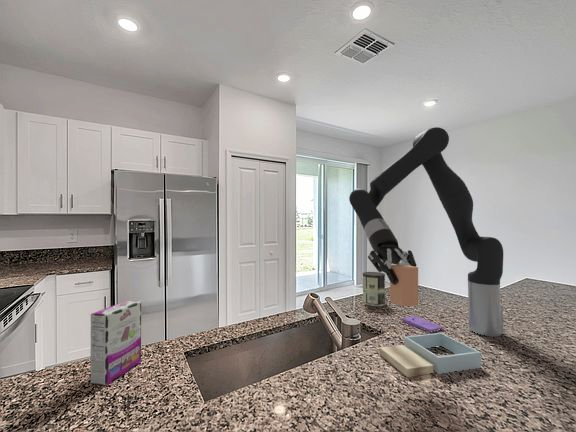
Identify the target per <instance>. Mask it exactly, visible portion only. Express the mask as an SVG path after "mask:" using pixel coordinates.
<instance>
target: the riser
mask: <svg viewBox="0 0 576 432" xmlns="http://www.w3.org/2000/svg"><path fill="white" fill-rule="evenodd" d="M379 355H380V356H381V357H382V358H383V359H385V361H387V362H388V363H389V364H391V366H393V367H394V368H395V369H397V370H398V372H400V373H401V374H402V375H404V376H405V377H406V378H411V377H418V375H419V376H425V374H426V375H431V374H430V373H433V374H434V371H433V365H432V364H431V363H429V362H428V361H426V360H425V359H423V358H422V357H420V356H419V355H417V354H416V353H414V352H413V351H411V350H410V349H408V348H407V347H405V346H404V344H399V345H397V344H396V345H388V346H381V347H379Z"/></svg>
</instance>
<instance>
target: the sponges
mask: <svg viewBox="0 0 576 432" xmlns="http://www.w3.org/2000/svg"><path fill="white" fill-rule="evenodd" d="M402 322H403V323H405V324H408V325H410V326H412V327H415V328H417V327H418V328H417V329H419V328H422V329H425V330H427V331H430V332H431V331H434V330H438V329H442V328H443V329H444V326H443V325H440V324H437V323H433V322H432V321H429V320H427V319H424V318H422V317H420V316H417V315H411V316H407V317H402ZM422 329H421V330H422Z"/></svg>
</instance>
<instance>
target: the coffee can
mask: <svg viewBox="0 0 576 432" xmlns="http://www.w3.org/2000/svg"><path fill="white" fill-rule="evenodd" d="M385 276H386V274H385V273H384V272H379V271H364V272H362V302H363V303H362V304H363V305H366V306H371V307H384V306H386V277H385Z"/></svg>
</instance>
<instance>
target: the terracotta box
mask: <svg viewBox="0 0 576 432" xmlns="http://www.w3.org/2000/svg"><path fill="white" fill-rule="evenodd" d="M391 266H392V269H393V270H394V272H395V274H396V276H397V278H398V280H399V281H398V283H397V284H396V285H393V284H392V283H391V282H390V281H389V282H390V283H389V286H390V288H389V293H390V295H389V301H390V302H391V303H393V304H394V305H395V304H396V305H397V306H399V307H414V306H415V307H416V306H419V267H418V266H416V267H414V266H410V265H396V264H391Z"/></svg>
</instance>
